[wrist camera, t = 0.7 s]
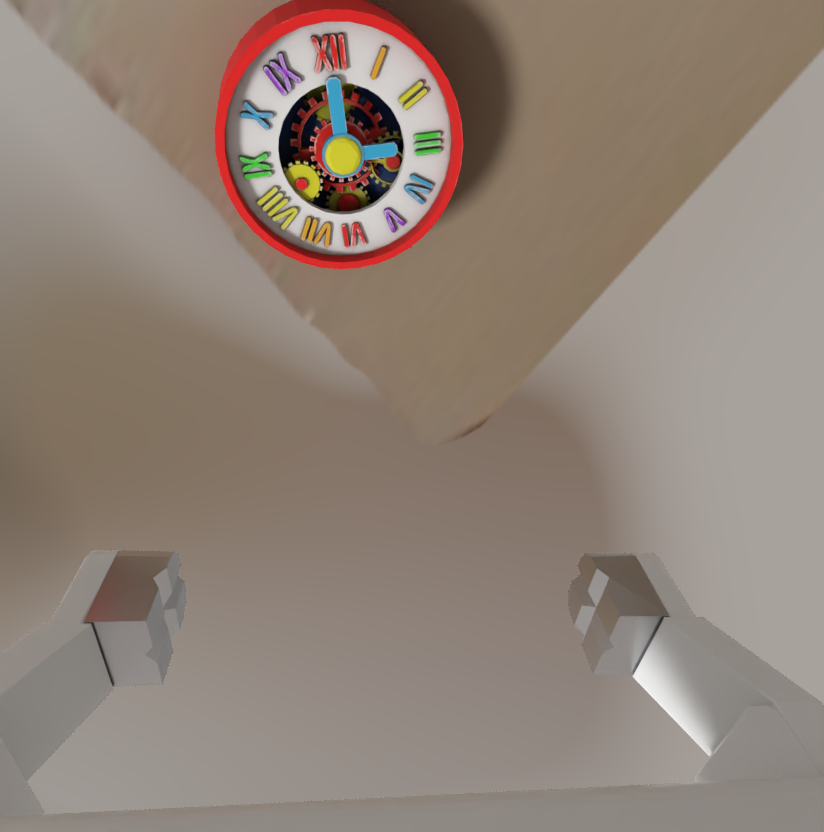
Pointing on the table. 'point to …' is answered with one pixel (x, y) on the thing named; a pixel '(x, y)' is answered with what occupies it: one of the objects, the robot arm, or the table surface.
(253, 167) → the toy clock
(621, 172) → the table surface
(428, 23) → the table surface
